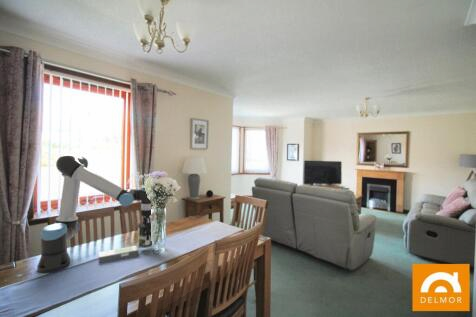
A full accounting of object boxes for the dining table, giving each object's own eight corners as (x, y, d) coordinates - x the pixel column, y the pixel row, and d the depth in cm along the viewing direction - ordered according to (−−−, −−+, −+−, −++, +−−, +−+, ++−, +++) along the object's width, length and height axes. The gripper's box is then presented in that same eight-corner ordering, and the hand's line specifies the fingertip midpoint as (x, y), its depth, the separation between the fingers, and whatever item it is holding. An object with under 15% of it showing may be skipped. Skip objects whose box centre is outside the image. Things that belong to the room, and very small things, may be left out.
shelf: (98, 263, 141) (98, 257, 141) (98, 255, 152) (98, 250, 152) (138, 255, 153) (138, 250, 152) (135, 248, 163) (135, 243, 163)
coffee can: (156, 245, 162) (157, 224, 161) (142, 249, 154) (143, 228, 153) (148, 241, 168) (148, 221, 168) (134, 245, 160) (135, 224, 159)
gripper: (156, 212, 152) (155, 246, 153) (149, 205, 172) (148, 235, 172) (143, 213, 148) (142, 248, 149) (138, 206, 168) (137, 237, 168)
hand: (145, 241), depth 161 cm, fingers closed on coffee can, 10 cm apart
